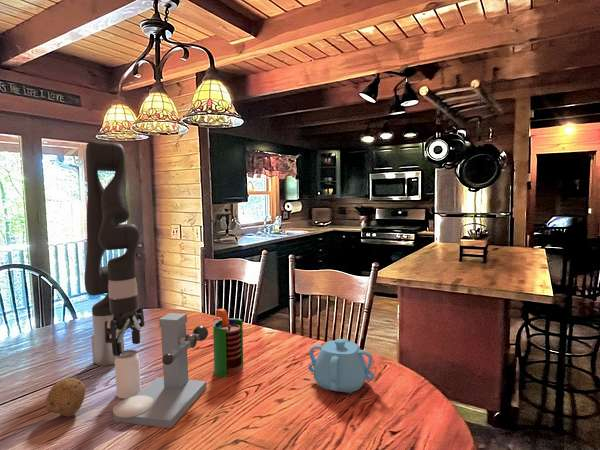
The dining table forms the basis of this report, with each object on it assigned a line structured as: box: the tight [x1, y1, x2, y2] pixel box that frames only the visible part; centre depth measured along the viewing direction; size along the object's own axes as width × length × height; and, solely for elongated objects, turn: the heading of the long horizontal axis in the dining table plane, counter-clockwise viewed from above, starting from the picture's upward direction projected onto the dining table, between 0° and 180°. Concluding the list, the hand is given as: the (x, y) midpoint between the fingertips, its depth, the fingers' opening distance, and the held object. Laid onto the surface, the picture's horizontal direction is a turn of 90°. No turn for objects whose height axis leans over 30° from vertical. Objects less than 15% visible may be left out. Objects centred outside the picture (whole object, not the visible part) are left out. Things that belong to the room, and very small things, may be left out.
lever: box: [161, 325, 209, 365], centre depth 107 cm, size 4×22×4 cm, turn 168°
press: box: [112, 312, 207, 429], centre depth 106 cm, size 18×21×22 cm
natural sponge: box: [44, 377, 86, 418], centre depth 102 cm, size 9×9×10 cm
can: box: [114, 349, 142, 400], centre depth 112 cm, size 6×6×12 cm
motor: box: [212, 308, 244, 378], centre depth 126 cm, size 10×9×20 cm
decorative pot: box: [308, 338, 375, 394], centre depth 115 cm, size 16×16×14 cm
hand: (127, 349), depth 112 cm, fingers open, 8 cm apart
